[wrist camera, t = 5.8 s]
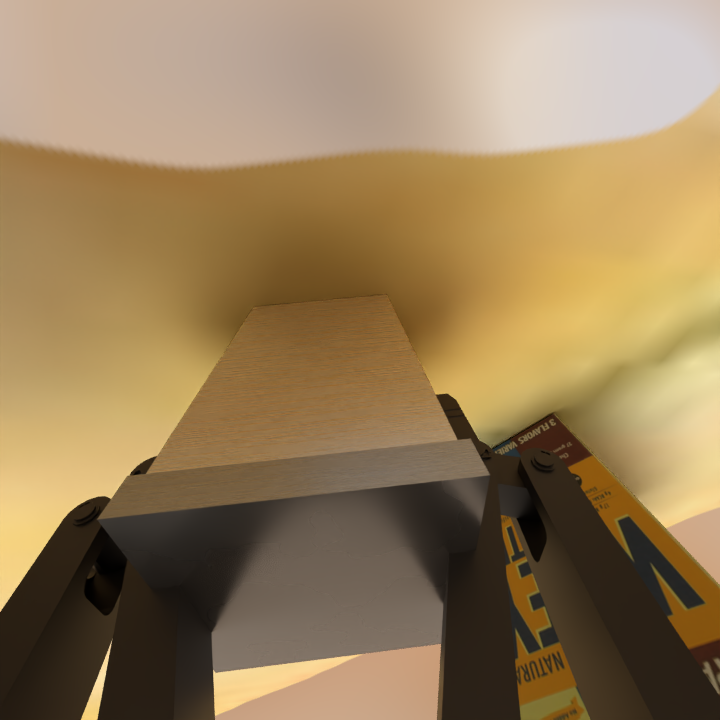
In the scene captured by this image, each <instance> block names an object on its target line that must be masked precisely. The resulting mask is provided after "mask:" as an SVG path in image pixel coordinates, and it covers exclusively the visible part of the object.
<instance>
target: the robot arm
mask: <svg viewBox="0 0 720 720" xmlns="http://www.w3.org/2000/svg"><path fill="white" fill-rule="evenodd" d="M436 397H437V399H438V401H439V403H440V405H441V407H442V409H443V411H444V413H445V415H446V417H447V419H448V421H449V423H450V425H451V427H452V429H453V432H454V434H455V436H456V438H457V440H462V439H471V441H472V442H473V444H474V446H475V448H476V450H477V452H478V454H479V455H480V457H481V459H482V461H483V463H484V465H485V466H486V468H487V470H488V472H489V474H490V479H489V484H488V490H487V495H486V500H485V506H484V511H483V516H482V521H481V527H480V532H479V537H478V543H477V548H476V550H474V551H465V552H457V553H449V561H448V569H447V578H446V586H445V595H444V603H443V620H442V638H441V657H440V674H439V693H438V711H437V720H521V715H520V705H519V695H518V684H517V674H516V664H515V654H514V644H513V634H512V623H511V613H510V603H509V593H508V583H507V573H506V562H505V552H504V542H503V532H502V522H501V515H504V516H509V517H510V518H511V520H512V523H513V526H514V528H515V531H516V533H517V536H518V538H519V541H520V543H521V546H522V548H523V551H524V553H525V556H526V558H527V561H528V563H529V566H530V568H531V571H532V573H533V576H534V578H535V581H536V584H537V586H538V589H539V591H540V594H541V596H542V599H543V601H544V604H545V606H546V609H547V611H548V614H549V616H550V619H551V621H552V624H553V626H554V629H555V631H556V634H557V636H558V639H559V642H560V644H561V647H562V649H563V652H564V654H565V657H566V659H567V662H568V664H569V667H570V669H571V672H572V674H573V677H574V679H575V682H576V684H577V687H578V689H579V692H580V694H581V697H582V699H583V702H584V705H585V707H586V710H587V712H588V715H589V717H590V720H720V696H719V694H718V693H717V691H716V690H715V688H714V687H713V685H712V684H711V682H710V681H709V679H708V678H707V676H706V674H705V673H704V671H703V670H702V668H701V667H700V665H699V664H698V662H697V661H696V659H695V658H694V656H693V655H692V653H691V652H690V650H689V649H688V647H687V646H686V644H685V643H684V641H683V640H682V638H681V637H680V635H679V634H678V632H677V631H676V629H675V628H674V626H673V625H672V623H671V622H670V620H669V619H668V617H667V616H666V614H665V613H664V611H663V610H662V608H661V607H660V605H659V604H658V602H657V601H656V599H655V598H654V596H653V595H652V593H651V592H650V590H649V589H648V587H647V586H646V584H645V583H644V581H643V580H642V578H641V577H640V575H639V574H638V572H637V571H636V569H635V568H634V566H633V565H632V563H631V562H630V560H629V559H628V557H627V556H626V554H625V553H624V551H623V550H622V548H621V547H620V545H619V544H618V542H617V541H616V539H615V538H614V536H613V535H612V533H611V532H610V530H609V529H608V527H607V526H606V524H605V523H604V521H603V520H602V518H601V517H600V515H599V514H598V512H597V511H596V509H595V508H594V506H593V505H592V503H591V502H590V500H589V499H588V497H587V496H586V494H585V493H584V491H583V490H582V488H581V487H580V485H579V484H578V482H577V481H576V479H575V478H574V476H573V475H572V473H571V472H570V470H569V469H568V467H567V466H566V464H565V463H564V461H563V460H562V459H561V458H560V457H559V456H557V455H556V454H554V453H552V452H551V451H548V450H545V449H541V448H530V449H526V450H525V451H523V452H522V454H521V457H515V456H508V455H502V454H498V453H495V452H493V450H492V449H491V448H490V447H489V446H488V445H486V444H485V443H483V442H481V441H479V440H478V438H477V436H476V434H475V432H474V431H473V429H472V427H471V425H470V424H469V422H468V420H467V418H466V417H465V415H464V413H463V411H462V410H461V408H460V406H459V404H458V403H457V401H456V400H455V399H454V398H453V397H451V396H450V395H449V394H439V395H436ZM156 457H157V456H156ZM156 457H153V458H150V459H148V460H146V461H144V462H143V463H141V464H140V465H138V466H137V467H136V468H135V469H134V470H133V471H132V472H131V474H130V476H131V475H140V474H146V473H147V471H148V470H149V468H150V467H151V465H152V464H153V462H154V460H155V459H156ZM110 500H111V499H110V498H108V497H106V496H104V497H96V498H93V499H89V500H87V501H85V502H84V503H82V504H80V505H78V506H77V507H76V508H74V509H73V510H72V511H71V512H70V513H69V514H68V515H67V516H66V517H65V518H64V519H63V521H62V522H61V524H60V525H59V527H58V528H57V530H56V531H55V533H54V534H53V535H52V537H51V538H50V540H49V541H48V543H47V544H46V546H45V547H44V549H43V550H42V552H41V553H40V555H39V556H38V558H37V559H36V561H35V562H34V563H33V565H32V566H31V568H30V569H29V571H28V572H27V574H26V575H25V577H24V578H23V580H22V581H21V583H20V584H19V586H18V587H17V588H16V590H15V591H14V593H13V594H12V596H11V597H10V599H9V600H8V602H7V603H6V605H5V606H4V608H3V609H2V611H1V612H0V720H81V718H82V715H83V713H84V710H85V707H86V705H87V702H88V700H89V697H90V695H91V692H92V690H93V687H94V684H95V682H96V679H97V677H98V674H99V672H100V669H101V667H102V664H103V661H104V659H105V656H106V654H107V651H108V649H109V646H110V644H111V641H112V644H111V650H110V655H109V661H108V666H107V671H106V677H105V682H104V687H103V693H102V698H101V704H100V709H99V714H98V720H215V711H214V684H213V658H212V633H211V632H210V630H209V629H208V627H207V626H206V624H205V623H204V622H203V620H202V619H201V617H200V616H199V614H198V613H197V611H196V610H195V608H194V607H193V605H192V604H191V603H190V601H189V600H188V598H187V597H186V595H185V594H184V592H183V591H182V589H181V588H180V587H179V586H175V587H166V588H158V589H150V587H149V586H148V585H147V583H146V582H145V581H144V579H143V578H142V577H141V576H140V574H139V573H138V572H137V570H136V569H135V568H134V567H133V565H132V564H131V563H130V561H129V560H128V559H127V558H126V556H125V555H124V554H123V552H122V551H121V550H120V549H119V547H118V546H117V545H116V543H115V542H114V541H113V540H112V538H111V537H110V536H109V534H108V533H107V532H106V531H105V529H104V528H103V527H102V525H101V524H100V523H99V521H98V520H97V519H98V517H99V516H100V514H101V513H102V512H103V510H104V509H105V507H106V506H107V504H108V503H109V502H110ZM112 638H113V639H112Z"/></svg>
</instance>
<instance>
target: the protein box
mask: <svg viewBox="0 0 720 720" xmlns="http://www.w3.org/2000/svg"><path fill="white" fill-rule="evenodd" d="M530 448H541V449H545V450H548V451H551V452H552V453H554V454H556V455H557V456H559V457H560V458H561V459H562V460H563V461H564V463H565V464H566V466H567V467H568V469H569V470H570V472H571V473H572V475H573V476H574V478H575V479H576V481H577V482H578V484H579V485H580V487H581V488H582V490H583V491H584V493H585V494H586V496H587V497H588V499H589V500H590V502H591V503H592V505H593V506H594V508H595V509H596V511H597V512H598V514H599V515H600V517H601V518H602V520H603V521H604V523H605V524H606V526H607V527H608V529H609V530H610V532H611V533H612V535H613V536H614V538H615V539H616V541H617V542H618V544H619V545H620V547H621V548H622V550H623V551H624V553H625V554H626V556H627V557H628V559H629V560H630V562H631V563H632V565H633V566H634V568H635V569H636V571H637V572H638V574H639V575H640V577H641V578H642V580H643V581H644V583H645V584H646V586H647V587H648V589H649V590H650V592H651V593H652V595H653V596H654V598H655V599H656V601H657V602H658V604H659V605H660V607H661V608H662V610H663V611H664V613H665V614H666V616H667V617H668V619H669V620H670V622H671V623H672V625H673V626H674V628H675V629H676V631H677V632H678V634H679V635H680V637H681V638H682V640H683V641H684V643H685V644H686V646H687V647H688V649H689V650H690V652H691V653H692V655H693V656H694V658H695V659H696V661H697V662H698V664H699V665H700V667H701V668H702V670H703V671H704V673H705V674H706V676H707V678H708V679H709V681H710V682H711V684H712V685H713V687H714V688H715V690H716V691H717V693H718V694H719V696H720V585H719V584H718V583H717V582H716V581H715V580H714V579H713V578H712V577H711V575H710V574H709V573H708V572H707V571H706V570H705V569H704V568H703V567H702V566H701V565H700V564H699V563H698V562H697V561H696V560H695V559H694V558H693V557H692V556H691V554H690V553H689V552H688V551H687V550H686V549H685V548H684V547H683V546H682V545H681V544H680V543H679V542H678V541H677V540H676V539H675V538H674V537H673V536H672V535H671V534H670V532H669V531H667V529H666V528H665V527H664V526H663V525H662V524H661V523H660V522H659V521H658V520H657V519H656V518H655V517H654V516H653V515H652V514H651V513H650V512H649V511H648V510H647V509H646V507H645V506H644V505H643V504H642V503H641V502H640V501H639V500H638V499H637V498H636V497H635V496H634V495H633V494H632V493H631V492H630V491H629V490H628V489H627V488H626V487H625V486H624V485H623V484H622V483H621V482H620V481H619V480H618V479H617V478H616V476H615V475H614V474H613V473H612V472H611V471H610V470H609V469H608V468H607V467H606V466H605V465H604V464H603V463H602V462H601V461H600V460H599V459H598V458H597V457H596V456H595V455H594V454H593V453H592V452H591V451H590V450H589V449H588V448H587V447H586V446H585V445H584V444H583V443H582V442H581V441H580V440H579V439H578V438H577V437H576V435H575V434H574V433H573V432H572V431H571V430H570V429H569V428H568V427H567V426H566V425H565V424H564V423H563V422H562V421H561V420H560V419H559V418H558V417H557V415H555V414H552V415H550V416H549V417H547V418H546V419H544V420H542V421H540V422H539V423H537V424H535V425H534V426H532V427H530V428H529V429H527V430H525V431H523V432H522V433H520V434H518V435H517V436H515V437H513V438H511V439H510V440H508V441H506V442H504V443H503V444H501V445H499V446H497V447H496V448H494V449H492V450H493V452H495V453H498V454H502V455H508V456H515V457H521V454H522V452H523V451H525V450H526V449H530ZM501 522H502V532H503V542H504V552H505V562H506V573H507V583H508V593H509V603H510V613H511V623H512V634H513V644H514V654H515V664H516V674H517V684H518V695H519V705H520V715H521V720H590V717H589V715H588V712H587V710H586V707H585V705H584V702H583V699H582V697H581V694H580V692H579V689H578V687H577V684H576V682H575V679H574V677H573V674H572V672H571V669H570V667H569V664H568V662H567V659H566V657H565V654H564V652H563V649H562V647H561V644H560V642H559V639H558V636H557V634H556V631H555V629H554V626H553V624H552V621H551V619H550V616H549V614H548V611H547V609H546V606H545V604H544V601H543V599H542V596H541V594H540V591H539V589H538V586H537V584H536V581H535V578H534V576H533V573H532V571H531V568H530V566H529V563H528V561H527V558H526V556H525V553H524V551H523V548H522V546H521V543H520V541H519V538H518V536H517V533H516V531H515V528H514V526H513V523H512V520H511V518H510V517H509V516H504V515H501Z"/></svg>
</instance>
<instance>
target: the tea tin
mask: <svg viewBox="0 0 720 720" xmlns="http://www.w3.org/2000/svg"><path fill="white" fill-rule="evenodd" d="M489 479H490V474H489V472H488V470H487V468H486V466H485V465H484V463H483V461H482V459H481V457H480V455H479V454H478V452H477V450H476V448H475V446H474V444H473V442H472V441H471V439H462V440H457V438H456V436H455V434H454V432H453V429H452V427H451V425H450V423H449V421H448V419H447V417H446V415H445V413H444V411H443V409H442V407H441V405H440V403H439V401H438V399H437V397H436V395H435V393H434V390H433V388H432V386H431V384H430V382H429V380H428V378H427V376H426V374H425V372H424V370H423V368H422V366H421V364H420V362H419V360H418V358H417V356H416V354H415V351H414V349H413V347H412V345H411V343H410V341H409V339H408V337H407V335H406V333H405V331H404V329H403V327H402V325H401V323H400V321H399V319H398V317H397V315H396V312H395V310H394V308H393V306H392V304H391V302H390V300H389V298H388V296H387V294H385V295H374V296H364V297H353V298H342V299H332V300H321V301H311V302H300V303H289V304H279V305H268V306H258V307H253V309H252V310H251V312H250V313H249V315H248V316H247V318H246V320H245V321H244V323H243V324H242V326H241V327H240V329H239V330H238V332H237V333H236V335H235V337H234V338H233V340H232V341H231V343H230V344H229V346H228V347H227V349H226V350H225V352H224V354H223V355H222V357H221V358H220V360H219V361H218V363H217V364H216V366H215V368H214V369H213V371H212V372H211V374H210V375H209V377H208V378H207V380H206V381H205V383H204V385H203V386H202V388H201V389H200V391H199V392H198V394H197V395H196V397H195V398H194V400H193V402H192V403H191V405H190V406H189V408H188V409H187V411H186V412H185V414H184V416H183V417H182V419H181V420H180V422H179V423H178V425H177V426H176V428H175V429H174V431H173V433H172V434H171V436H170V437H169V439H168V440H167V442H166V443H165V445H164V446H163V448H162V450H161V451H160V453H159V454H158V456H157V457H156V459H155V460H154V462H153V464H152V465H151V467H150V468H149V470H148V471H147V473H146V474H140V475H131V476H127V477H126V479H125V480H124V482H123V483H122V485H121V486H120V487H119V489H118V490H117V492H116V493H115V495H114V496H113V497H112V499H111V500H110V502H109V503H108V504H107V506H106V507H105V509H104V510H103V512H102V513H101V514H100V516H99V517H98V519H97V520H98V521H99V523H100V524H101V525H102V527H103V528H104V529H105V531H106V532H107V533H108V534H109V536H110V537H111V538H112V540H113V541H114V542H115V543H116V545H117V546H118V547H119V549H120V550H121V551H122V552H123V554H124V555H125V556H126V558H127V559H128V560H129V561H130V563H131V564H132V565H133V567H134V568H135V569H136V570H137V572H138V573H139V574H140V576H141V577H142V578H143V579H144V581H145V582H146V583H147V585H148V586H149V587H150V589H158V588H166V587H175V586H179V587H180V588H181V589H182V591H183V592H184V594H185V595H186V597H187V598H188V600H189V601H190V603H191V604H192V605H193V607H194V608H195V610H196V611H197V613H198V614H199V616H200V617H201V619H202V620H203V622H204V623H205V624H206V626H207V627H208V629H209V630H210V632H211V633H212V658H213V670H214V671H215V672H216V673H217V672H224V671H232V670H240V669H248V668H256V667H263V666H271V665H279V664H287V663H295V662H302V661H310V660H318V659H326V658H334V657H341V656H349V655H357V654H365V653H373V652H380V651H388V650H396V649H404V648H411V647H420V646H427V645H435V644H441V638H442V620H443V603H444V595H445V586H446V578H447V569H448V561H449V553H457V552H465V551H474V550H476V548H477V543H478V537H479V532H480V527H481V521H482V516H483V511H484V506H485V500H486V495H487V490H488V484H489Z"/></svg>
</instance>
